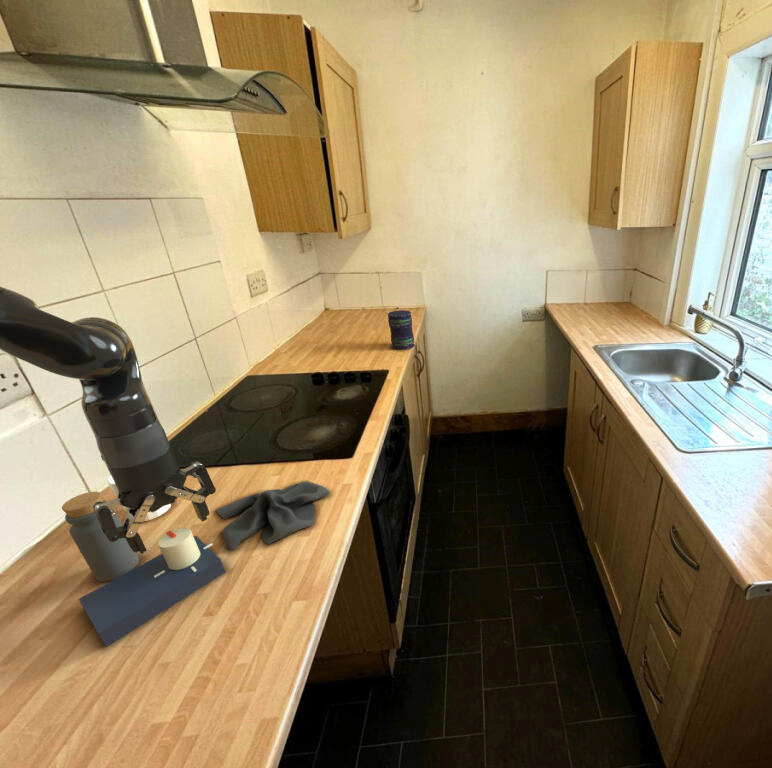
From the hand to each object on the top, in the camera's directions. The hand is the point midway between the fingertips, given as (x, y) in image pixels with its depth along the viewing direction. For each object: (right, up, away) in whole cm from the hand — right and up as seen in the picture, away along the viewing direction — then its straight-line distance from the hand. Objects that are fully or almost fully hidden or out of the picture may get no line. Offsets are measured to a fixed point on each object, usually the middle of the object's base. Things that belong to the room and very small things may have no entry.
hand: (174, 533), depth 69 cm
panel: (-2, -9, 0) cm, 10 cm away
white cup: (-19, -2, +18) cm, 26 cm away
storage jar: (+8, +41, +114) cm, 121 cm away
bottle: (-13, -8, +4) cm, 16 cm away
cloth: (+6, -2, +17) cm, 18 cm away
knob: (0, -5, +2) cm, 6 cm away
